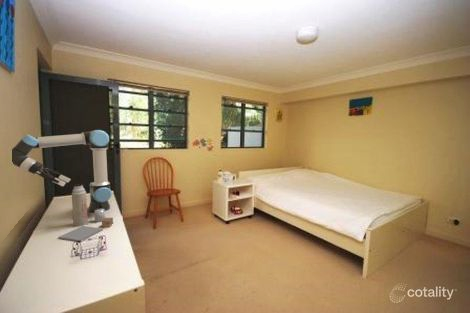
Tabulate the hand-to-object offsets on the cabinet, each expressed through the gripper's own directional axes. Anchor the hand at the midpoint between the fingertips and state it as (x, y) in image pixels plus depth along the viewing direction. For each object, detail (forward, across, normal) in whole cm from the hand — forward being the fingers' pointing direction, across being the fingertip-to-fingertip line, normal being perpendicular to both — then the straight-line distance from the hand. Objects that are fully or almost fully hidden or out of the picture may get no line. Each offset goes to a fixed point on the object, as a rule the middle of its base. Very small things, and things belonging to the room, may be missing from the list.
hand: (67, 182), depth 146 cm
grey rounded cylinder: (+31, +2, -13) cm, 34 cm away
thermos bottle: (+22, +3, -20) cm, 30 cm away
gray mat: (+25, +21, -18) cm, 37 cm away
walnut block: (+36, +14, -10) cm, 40 cm away
